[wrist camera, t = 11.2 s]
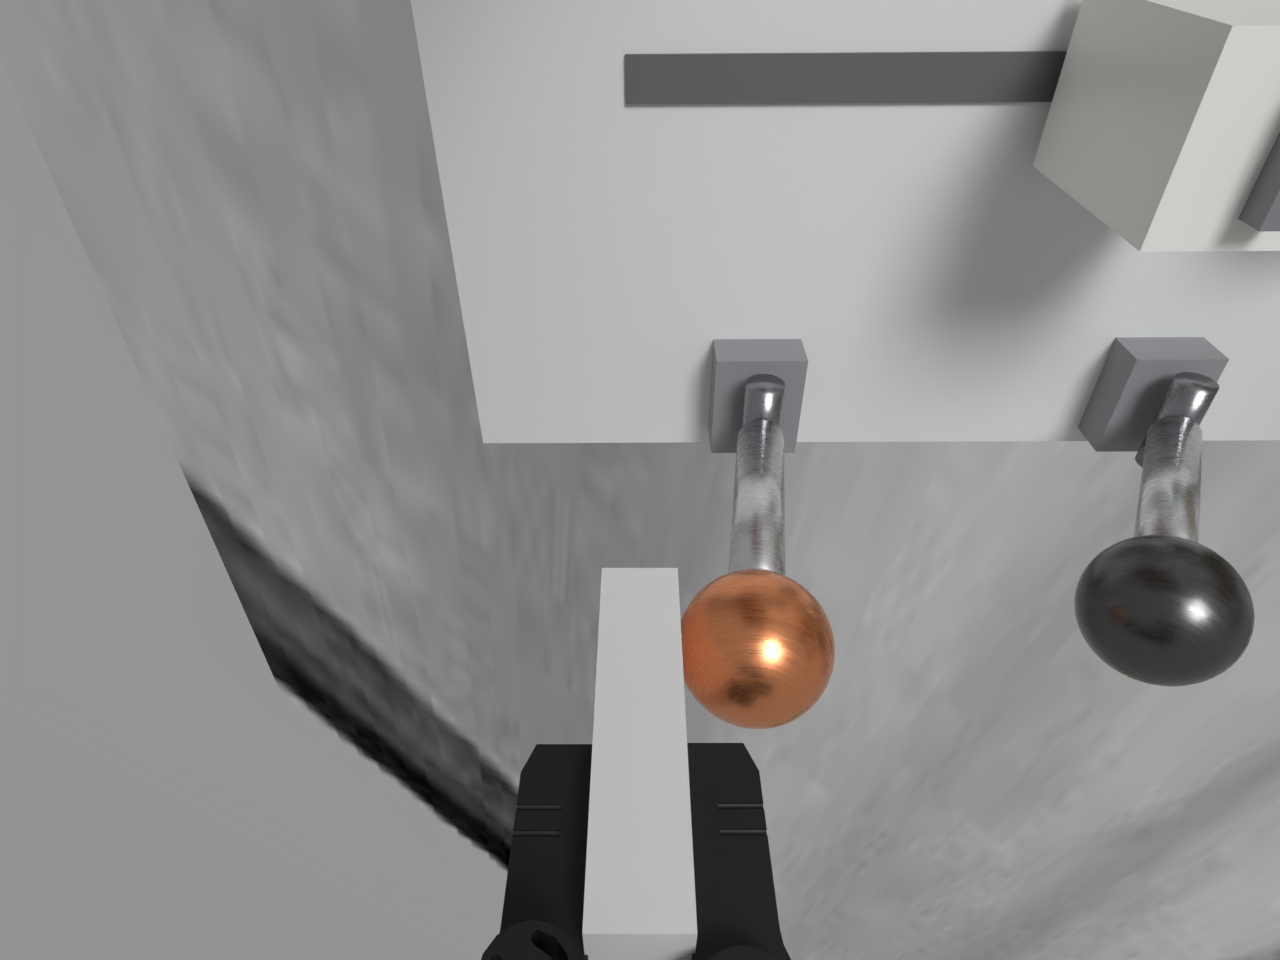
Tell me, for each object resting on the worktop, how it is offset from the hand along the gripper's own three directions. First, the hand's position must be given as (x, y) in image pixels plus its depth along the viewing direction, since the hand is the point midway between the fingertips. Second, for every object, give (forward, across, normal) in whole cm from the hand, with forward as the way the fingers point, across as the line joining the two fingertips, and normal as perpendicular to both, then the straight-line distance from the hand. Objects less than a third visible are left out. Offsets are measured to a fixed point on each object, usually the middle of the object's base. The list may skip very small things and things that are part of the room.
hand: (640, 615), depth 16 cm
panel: (+12, +8, +4) cm, 15 cm away
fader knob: (+8, +11, +8) cm, 16 cm away
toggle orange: (+7, +3, 0) cm, 7 cm away
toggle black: (+7, +14, 0) cm, 16 cm away
